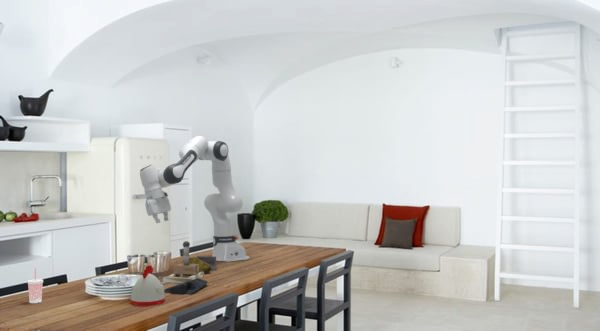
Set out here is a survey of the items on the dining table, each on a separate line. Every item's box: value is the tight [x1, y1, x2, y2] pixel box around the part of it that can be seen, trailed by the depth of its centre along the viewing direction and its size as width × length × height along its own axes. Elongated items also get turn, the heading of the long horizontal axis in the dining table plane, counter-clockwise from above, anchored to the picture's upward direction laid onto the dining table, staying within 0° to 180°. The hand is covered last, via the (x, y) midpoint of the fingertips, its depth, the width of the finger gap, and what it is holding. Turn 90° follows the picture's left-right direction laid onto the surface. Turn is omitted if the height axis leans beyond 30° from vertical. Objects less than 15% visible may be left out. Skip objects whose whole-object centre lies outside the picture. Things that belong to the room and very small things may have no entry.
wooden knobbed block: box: [173, 240, 199, 277], centre depth 307 cm, size 7×11×18 cm, turn 76°
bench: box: [162, 255, 217, 284], centre depth 314 cm, size 39×14×7 cm, turn 166°
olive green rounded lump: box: [189, 256, 212, 274], centre depth 322 cm, size 8×13×8 cm, turn 58°
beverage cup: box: [27, 267, 44, 304], centre depth 257 cm, size 6×6×14 cm
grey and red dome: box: [130, 265, 166, 307], centre depth 257 cm, size 14×14×15 cm
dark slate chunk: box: [164, 278, 208, 295], centre depth 282 cm, size 15×22×5 cm
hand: (162, 221), depth 318 cm, fingers open, 8 cm apart
